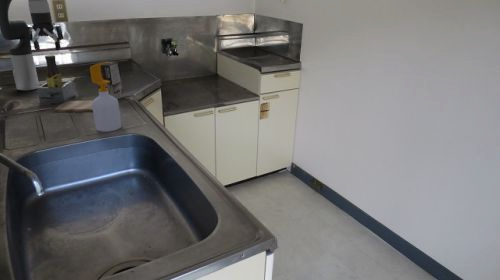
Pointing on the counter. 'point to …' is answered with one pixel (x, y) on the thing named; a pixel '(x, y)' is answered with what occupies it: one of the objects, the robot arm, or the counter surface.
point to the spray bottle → (104, 104)
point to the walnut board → (75, 106)
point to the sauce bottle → (52, 72)
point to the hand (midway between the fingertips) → (48, 50)
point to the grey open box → (56, 93)
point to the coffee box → (112, 78)
